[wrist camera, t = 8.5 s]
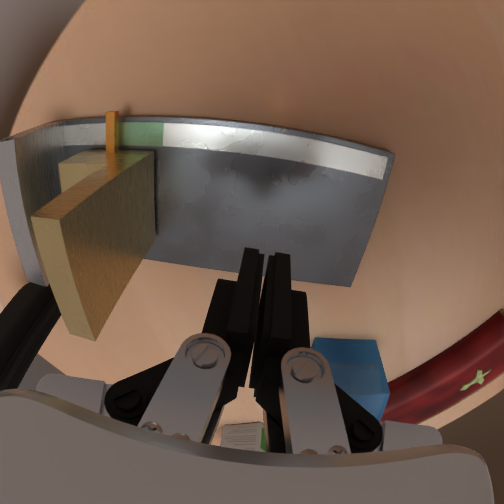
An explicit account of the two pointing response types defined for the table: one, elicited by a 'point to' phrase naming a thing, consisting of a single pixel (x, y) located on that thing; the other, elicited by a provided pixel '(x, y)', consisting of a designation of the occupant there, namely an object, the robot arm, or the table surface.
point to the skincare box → (244, 437)
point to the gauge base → (217, 190)
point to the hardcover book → (448, 375)
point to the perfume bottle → (357, 371)
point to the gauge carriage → (97, 230)
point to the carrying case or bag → (25, 331)
